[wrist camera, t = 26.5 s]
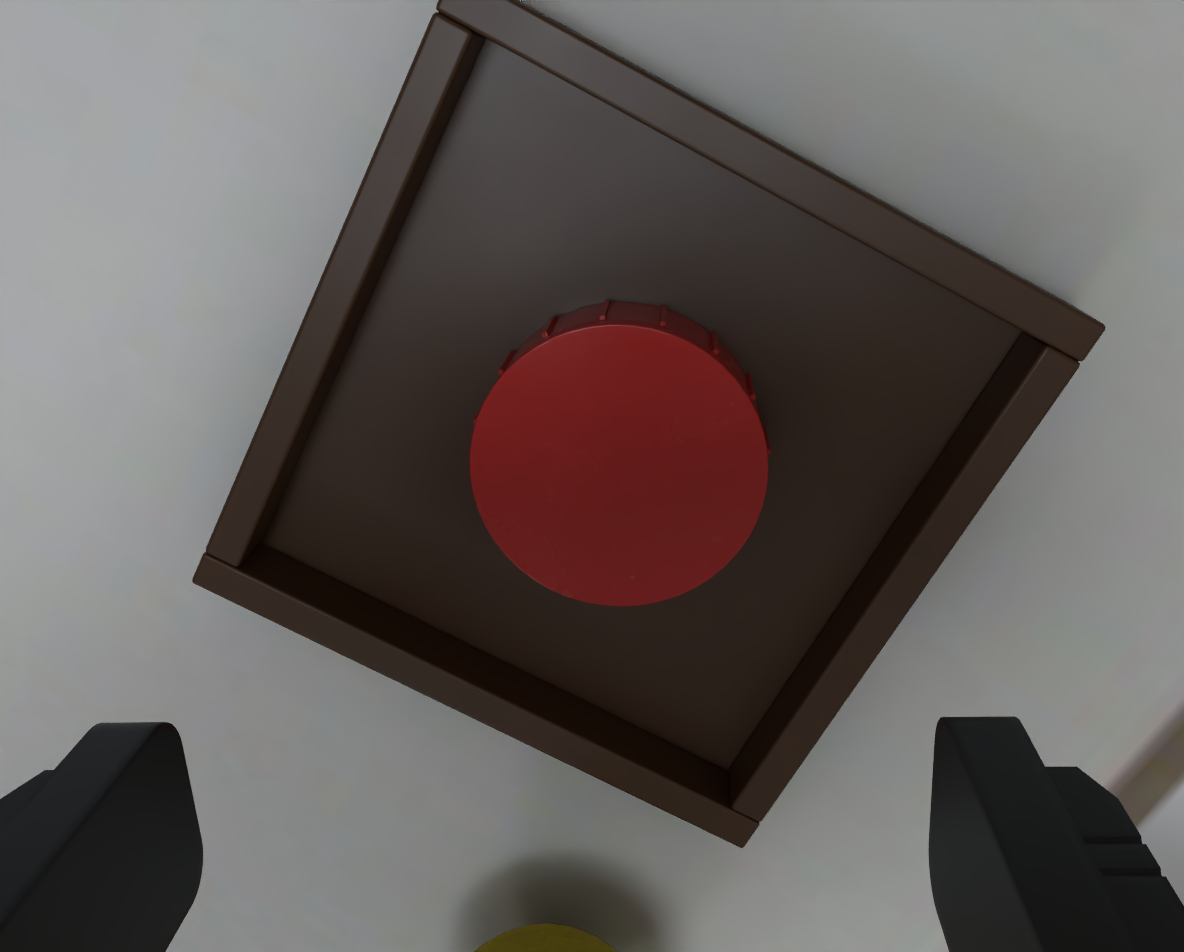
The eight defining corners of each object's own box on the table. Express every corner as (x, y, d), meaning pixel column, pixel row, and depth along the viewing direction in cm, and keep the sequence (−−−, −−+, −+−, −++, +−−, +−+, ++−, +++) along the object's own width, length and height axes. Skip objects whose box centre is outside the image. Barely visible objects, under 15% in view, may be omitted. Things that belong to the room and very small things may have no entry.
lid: (561, 248, 23) (549, 265, 21) (815, 383, 23) (828, 413, 21) (441, 488, 25) (419, 526, 23) (678, 607, 25) (677, 655, 23)
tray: (739, 799, 27) (743, 849, 25) (224, 547, 26) (189, 582, 24) (1075, 307, 23) (1109, 327, 21) (471, -26, 21) (452, -35, 20)
